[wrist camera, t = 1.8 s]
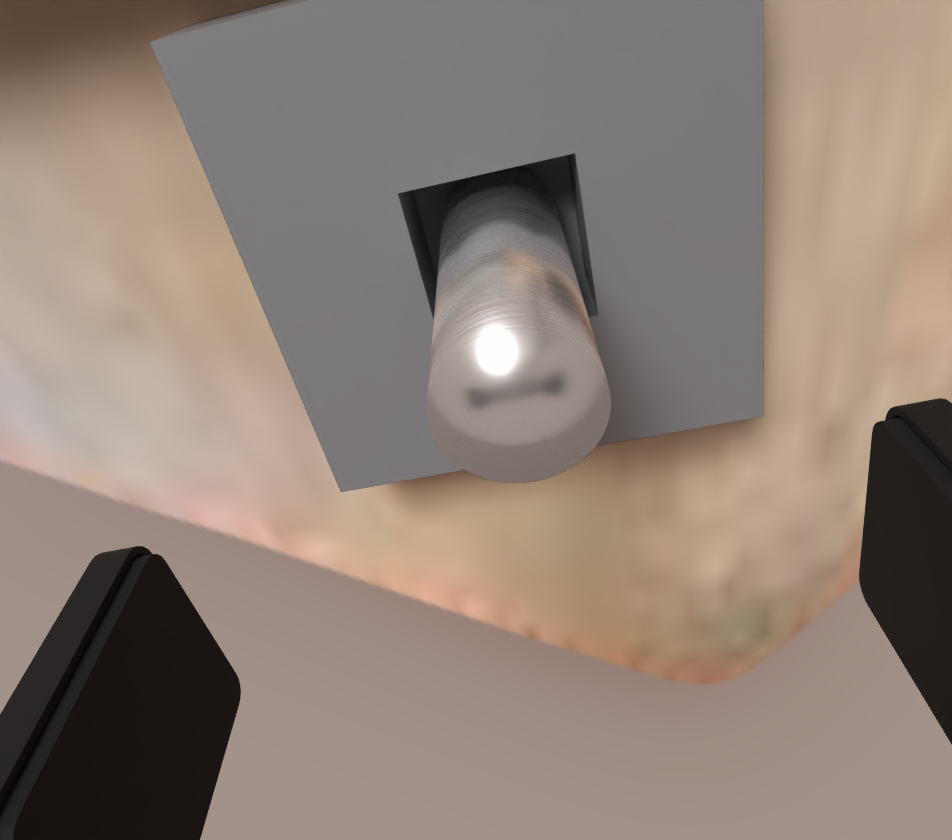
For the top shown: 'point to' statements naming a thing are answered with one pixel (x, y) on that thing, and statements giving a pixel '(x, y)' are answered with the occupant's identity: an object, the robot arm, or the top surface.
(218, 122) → the grey square hole plate
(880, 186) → the top surface
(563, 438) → the pin
